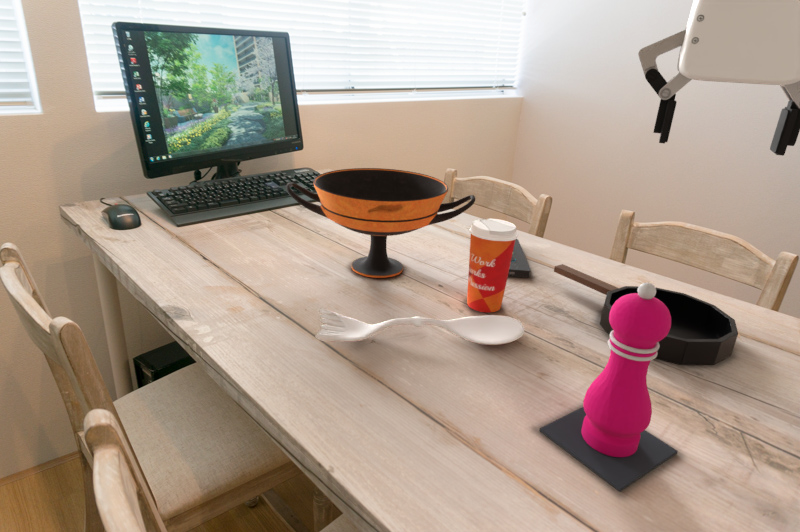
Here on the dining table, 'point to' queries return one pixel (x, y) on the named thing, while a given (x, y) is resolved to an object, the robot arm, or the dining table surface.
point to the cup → (380, 208)
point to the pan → (674, 322)
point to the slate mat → (607, 467)
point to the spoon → (468, 328)
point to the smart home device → (519, 263)
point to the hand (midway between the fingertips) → (717, 147)
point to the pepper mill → (626, 374)
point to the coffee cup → (489, 263)
